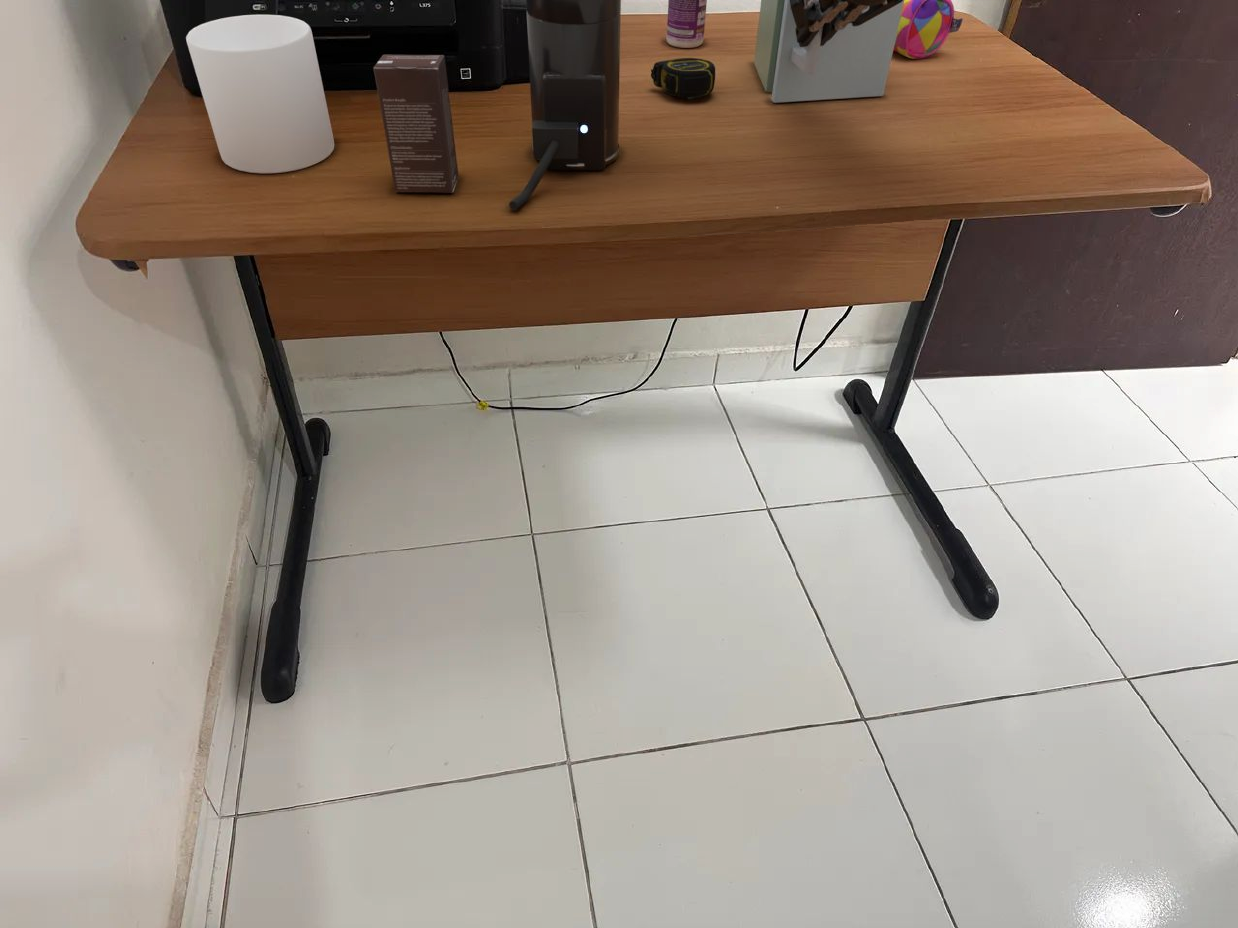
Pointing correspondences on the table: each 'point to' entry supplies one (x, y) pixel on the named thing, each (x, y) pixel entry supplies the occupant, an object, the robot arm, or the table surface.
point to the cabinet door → (835, 60)
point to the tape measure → (684, 77)
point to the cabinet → (768, 41)
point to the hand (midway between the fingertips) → (809, 38)
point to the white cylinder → (262, 92)
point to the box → (417, 122)
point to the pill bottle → (686, 23)
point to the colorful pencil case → (924, 27)
